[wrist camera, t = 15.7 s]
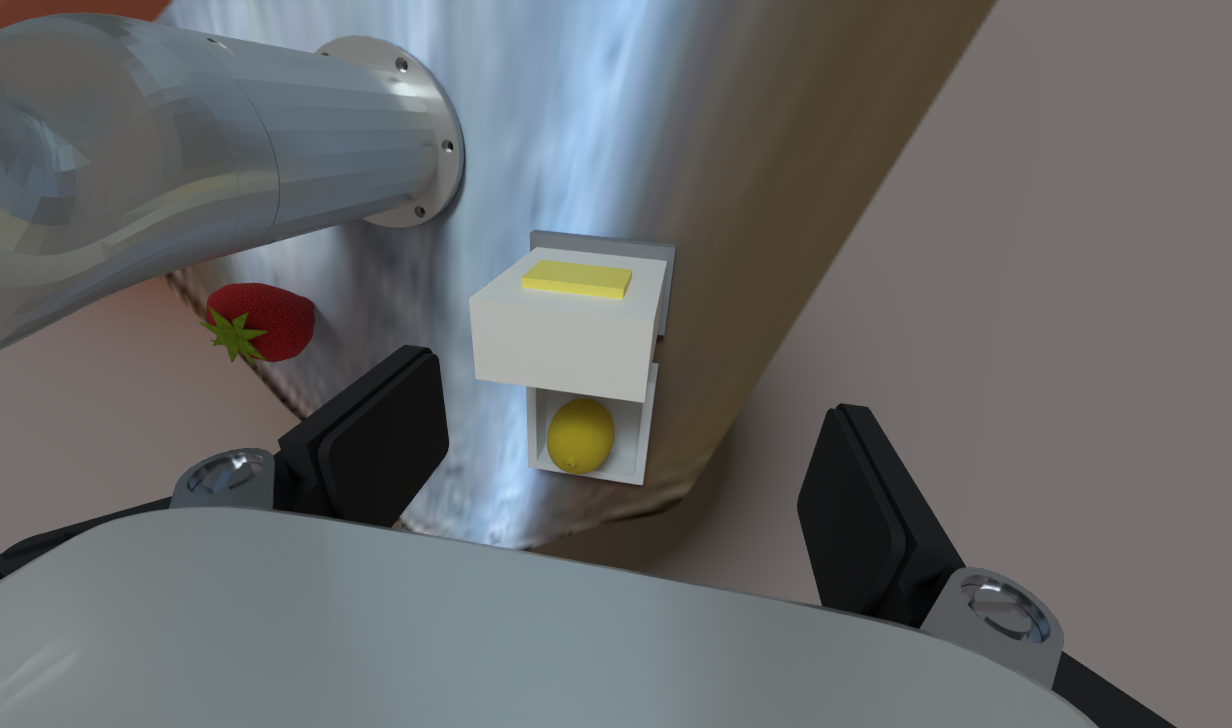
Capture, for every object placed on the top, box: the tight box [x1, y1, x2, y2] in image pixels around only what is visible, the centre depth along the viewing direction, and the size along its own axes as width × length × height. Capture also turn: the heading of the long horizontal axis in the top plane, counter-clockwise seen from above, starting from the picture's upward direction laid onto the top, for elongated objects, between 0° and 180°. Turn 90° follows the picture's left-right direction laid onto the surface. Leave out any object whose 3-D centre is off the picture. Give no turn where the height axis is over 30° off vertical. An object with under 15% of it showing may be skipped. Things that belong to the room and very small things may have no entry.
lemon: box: [547, 398, 615, 474], centre depth 39 cm, size 6×6×8 cm
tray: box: [526, 363, 658, 485], centre depth 41 cm, size 11×11×4 cm
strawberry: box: [199, 283, 315, 364], centre depth 38 cm, size 6×8×10 cm
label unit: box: [469, 230, 676, 403], centre depth 31 cm, size 11×7×13 cm, turn 86°
